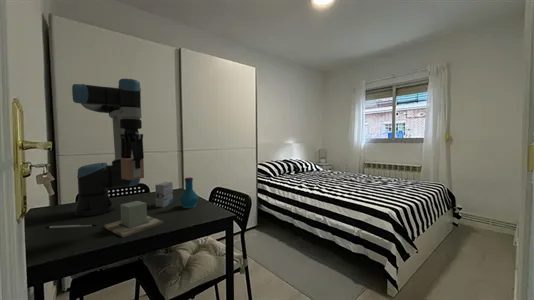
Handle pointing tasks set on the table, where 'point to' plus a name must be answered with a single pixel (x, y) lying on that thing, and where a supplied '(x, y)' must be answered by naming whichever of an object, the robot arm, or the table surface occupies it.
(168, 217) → the table surface
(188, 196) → the teal vase
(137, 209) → the sage block
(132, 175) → the terracotta block
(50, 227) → the pen
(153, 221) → the beige flat square slab
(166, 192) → the ink box
